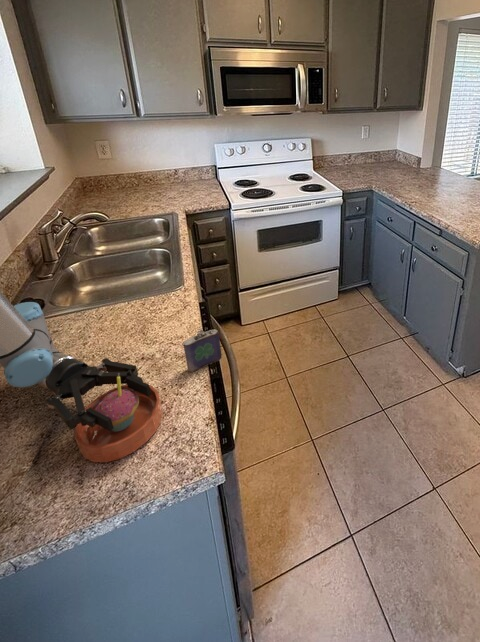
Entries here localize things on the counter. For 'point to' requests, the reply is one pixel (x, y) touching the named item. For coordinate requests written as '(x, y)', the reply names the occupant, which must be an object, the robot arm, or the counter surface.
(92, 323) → the counter surface
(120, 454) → the bowl
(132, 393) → the cupcake
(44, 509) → the counter surface
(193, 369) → the flask
